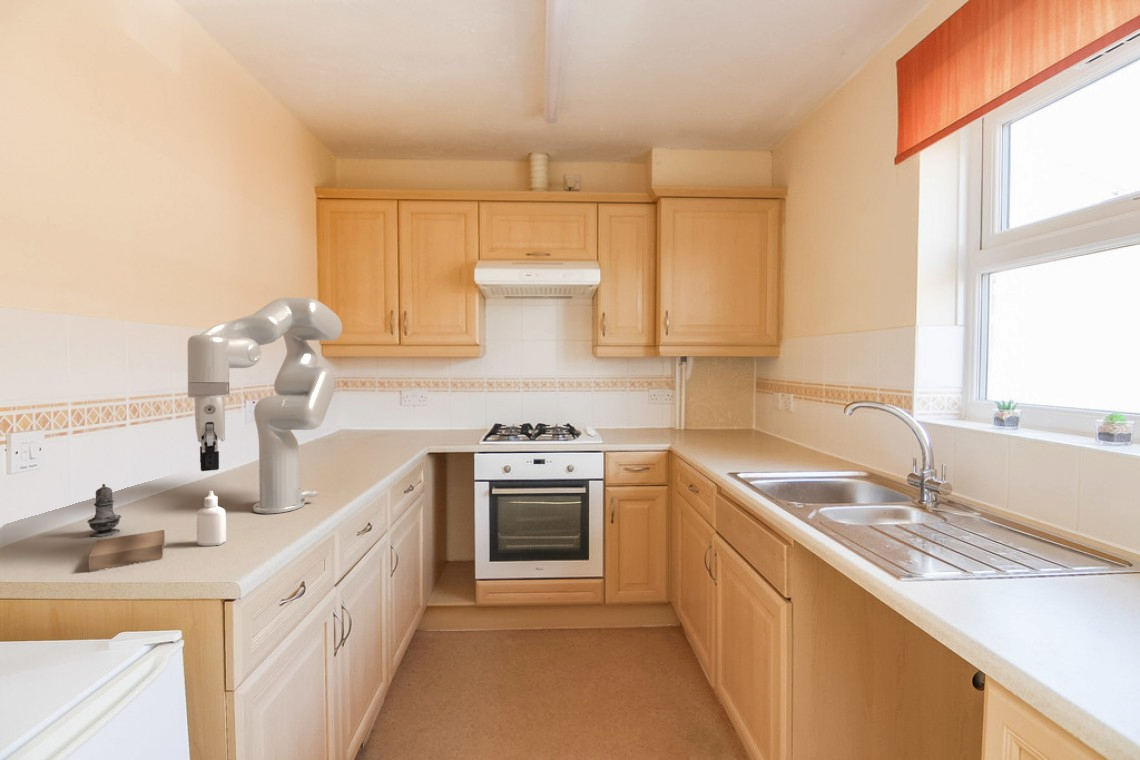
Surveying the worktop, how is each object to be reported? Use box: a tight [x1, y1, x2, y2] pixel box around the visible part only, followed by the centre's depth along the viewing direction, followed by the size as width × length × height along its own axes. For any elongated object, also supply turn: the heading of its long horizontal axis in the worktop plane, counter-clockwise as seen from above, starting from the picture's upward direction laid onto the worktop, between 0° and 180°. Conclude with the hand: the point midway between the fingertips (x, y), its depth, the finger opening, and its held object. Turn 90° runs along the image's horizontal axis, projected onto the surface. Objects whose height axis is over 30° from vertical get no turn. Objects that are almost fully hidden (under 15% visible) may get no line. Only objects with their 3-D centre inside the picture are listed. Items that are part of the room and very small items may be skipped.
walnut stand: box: [88, 529, 166, 573], centre depth 103 cm, size 11×11×3 cm
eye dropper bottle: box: [196, 490, 227, 547], centre depth 111 cm, size 4×6×12 cm
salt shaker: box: [87, 483, 122, 538], centre depth 116 cm, size 6×6×12 cm
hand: (209, 466), depth 110 cm, fingers open, 9 cm apart
